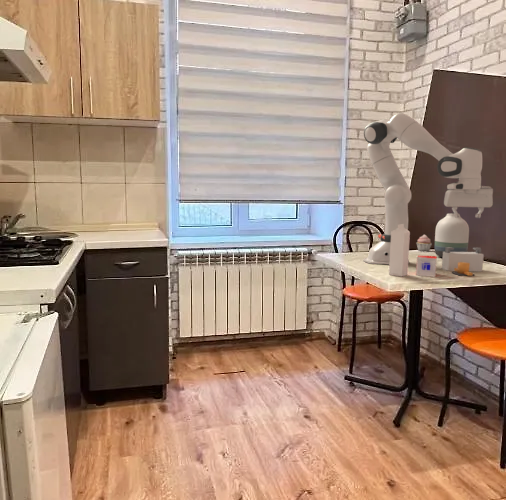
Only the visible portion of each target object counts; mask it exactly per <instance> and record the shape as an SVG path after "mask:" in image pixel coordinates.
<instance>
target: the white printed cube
mask: <svg viewBox="0 0 506 500" xmlns="http://www.w3.org/2000/svg"><path fill="white" fill-rule="evenodd" d="M437 257H438V256H437V255H424V254H418V255H417V257H416V269H415V270H416V271H415V275H416V276H422V277H436V274H437Z"/></svg>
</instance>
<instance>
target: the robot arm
mask: <svg viewBox="0 0 506 500" xmlns="http://www.w3.org/2000/svg"><path fill="white" fill-rule="evenodd" d="M363 137H364V139H365V142H366V143H368V145H367V147H366V151H367V154H368V159H369V161H370V163H371V166H372V168H373V170H374V172H375V175H376V177H377V179H378V181H379V183H380V184H381V185H382V188H383V189H384V191H385V192H384V212H385V213H384V214H385V216H384V217H385V223H384V233H383V234H381V233H380V234H378V235H377V237H378V238H379V239H380V241H379V242H377V243H375V244H374V245H373V246H372V247H371V248H370V249H369V251H368V254H367V255H368V256H367V257H364V258H363V262H365V263H368V264H372V265H374V264H375V265H389V263H390V245H391V231H393V230H395V229H397V228H398V225H399V224H404V228H405V229H407V230H408V229H409V209H408V208H409V207H408V206H409V203H410V202H411V200H412V190H411V189H410V187H409V185H408V183H407V181H406V180H405V178H404V175H403V173H402V172H401V169H400V168H399V165H398V163H397V162H396V160H395V157H394V154H393V152H392V151H391V148H390V144H393V143H395V142H396V140H397V139H398V140H399V141H400V142H401V143H402V144H403V145H404V146H407V147H408V148H410V149H412V150H415V151H420V152H423V153H426V154H429V155H430V156H432V157H433V158H435V159H436V160H437V164H436V165H437V166H436V169H437V170H436V171H437V173H438V174H439V175H440V176H442V177H443V178H447V179H455V180H458V181H456V182H452V183H449V184H446V185H447V186H446V188H447V190H446V191H445V194H444V199H443V205H444V206H445V207H448V208H451V210H452V212H453V214H454V217H455V218H459V214H460V213H458V211H457V210H458V208H477V209H478V212H477V213H475V216H474V217H475V219H481V217H482V215H481V214H483V212H484V211H485V210H484V209H485V208H491V207H493V204H494V202H493V201H494V200H493V194H494V189H493V188H492V187H491V186H489V185H487V186H485V185H482V176H481V175H482V174H481V173H482V169H483V153H482V151H481V149H478V148H475V147H474V148H473V147H463V148H462V149H461V150H458V151H457V152H455V153H454V152H452V151H450V150H449V149H448V148H447V147H445V146H444V145H443V144H441V142H439V141H438V140H437V139H436V138H435V137H433V135H432V134H431V133H430V132H429V131H428V130H427V129H426V128H425V127H424V126H423V125H422V124H421V123H419V122H418V121H417V120H415V119H414V118H413V117H411V116H409V115H408V114H406V113H404V112H398V113H396V114H395V115H393V116H391V117H386V118H382V119H378V120H376V121H373V122H370V123H368V124H367V125H366V126H365V128H364V129H363ZM408 231H409V230H408ZM408 264H410V259H409V258H408Z"/></svg>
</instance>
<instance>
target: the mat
mask: <svg viewBox="0 0 506 500" xmlns="http://www.w3.org/2000/svg"><path fill="white" fill-rule="evenodd" d="M451 273H452V274H453V275H456V276H459V277H462V276H463V277H469V276H468V275H466V274H460V273H457V271H451ZM471 277H475V274H474V273H473V275H472V276H471Z"/></svg>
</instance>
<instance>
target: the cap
mask: <svg viewBox="0 0 506 500" xmlns="http://www.w3.org/2000/svg"><path fill="white" fill-rule="evenodd" d="M469 267H470V263H467V262H458V268H454V271H453V272H457V273H460V274H466V275H468V276H467V277H473V276H472V275H473V274H474V273H473V272H472V271H469Z"/></svg>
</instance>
